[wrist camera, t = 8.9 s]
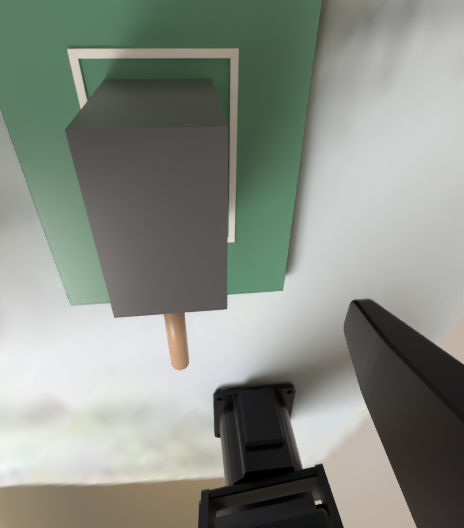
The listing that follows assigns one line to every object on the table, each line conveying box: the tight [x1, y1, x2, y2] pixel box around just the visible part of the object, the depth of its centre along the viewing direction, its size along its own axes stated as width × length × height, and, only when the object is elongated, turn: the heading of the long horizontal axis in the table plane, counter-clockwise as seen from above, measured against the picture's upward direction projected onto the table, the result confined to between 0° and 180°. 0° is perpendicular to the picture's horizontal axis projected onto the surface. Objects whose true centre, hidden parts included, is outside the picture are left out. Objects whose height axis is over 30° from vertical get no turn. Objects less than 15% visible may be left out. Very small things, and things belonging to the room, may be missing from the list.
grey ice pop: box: [65, 79, 228, 370], centre depth 15 cm, size 11×4×6 cm, turn 179°
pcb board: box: [0, 0, 322, 306], centre depth 15 cm, size 16×12×4 cm
